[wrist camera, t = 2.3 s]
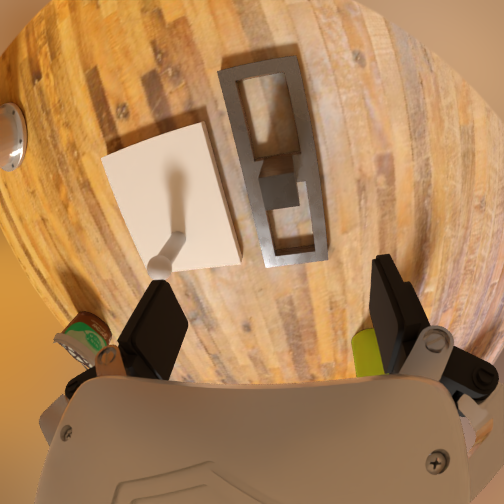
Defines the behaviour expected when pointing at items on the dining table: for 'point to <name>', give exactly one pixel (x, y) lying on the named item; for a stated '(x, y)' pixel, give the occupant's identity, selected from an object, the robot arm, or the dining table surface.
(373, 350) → the soap dispenser
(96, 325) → the food container
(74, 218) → the dining table surface
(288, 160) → the grey frame with handle
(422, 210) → the dining table surface
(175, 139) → the white pegged base
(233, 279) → the dining table surface
